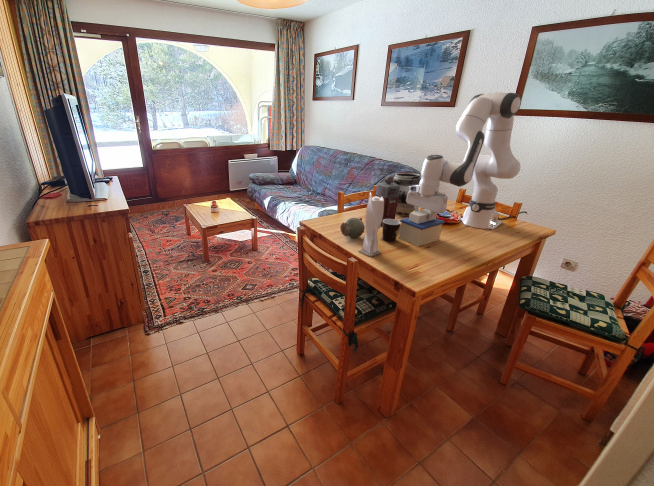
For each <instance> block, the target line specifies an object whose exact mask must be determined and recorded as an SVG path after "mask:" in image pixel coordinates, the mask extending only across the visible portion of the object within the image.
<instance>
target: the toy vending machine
mask: <svg viewBox="0 0 654 486" xmlns="http://www.w3.org/2000/svg"><path fill="white" fill-rule="evenodd" d="M393 178H394V176H392V175H390V174H389V175H386V176H385V177H384V182H377V184H376V188H375V195H374V196H377V197H380V198H381V197H383V199H384V211H383V218H382V222H381V225H380V228H382V225H383V220H384V219H395V220H396V216H397V214H396V210H397V203H398V197H399V190H400V185H397V184H394V183H392V182H393ZM383 199H382V200H383Z"/></svg>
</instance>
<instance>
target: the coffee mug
mask: <svg viewBox="0 0 654 486" xmlns="http://www.w3.org/2000/svg"><path fill="white" fill-rule="evenodd" d="M381 228H382V230H381V231H382V232H381V234H382V235H381V239H382V241H383V242H385V243H395V242H396V240H397V236H398V234H399V231H400V228H401V222H400V220H399V219H396V218H395V219H384V220H383V225H382V227H381Z"/></svg>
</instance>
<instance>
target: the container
mask: <svg viewBox="0 0 654 486" xmlns="http://www.w3.org/2000/svg"><path fill="white" fill-rule="evenodd" d="M399 221H400V222H401V224H400V227H399V233H398V234H399V235H398V238H399V240H403V241H405V242H407V243H410V244H412V245H414V246H417V247H421V246H424V245H427V244H431V243H434V242H436V241H439V240H440V237H441V234H442V233H441V232H442V228H443V225H444V224H445V220H441V219H439V218H436V219H434V220H430V221H427V222H423V223H419V224H417V223H414V222H412V221H409V216H408V217H404V218H400V220H399Z"/></svg>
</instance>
